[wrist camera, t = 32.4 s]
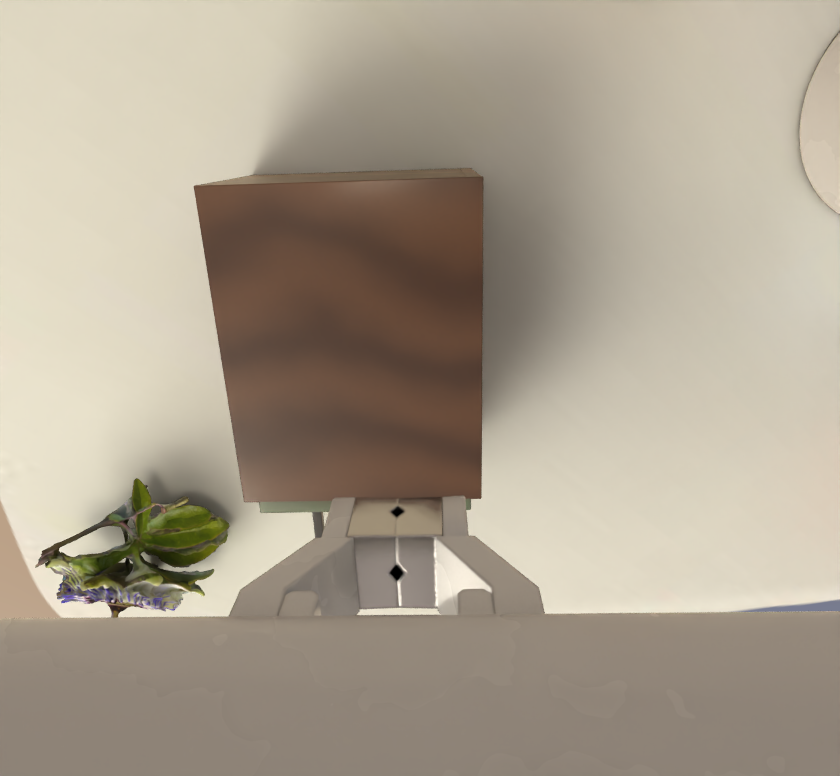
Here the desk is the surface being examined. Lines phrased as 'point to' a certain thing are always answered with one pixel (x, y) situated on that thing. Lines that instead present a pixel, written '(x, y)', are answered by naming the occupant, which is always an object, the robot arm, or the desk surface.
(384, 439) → the cabinet
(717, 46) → the desk surface
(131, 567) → the passion flower
